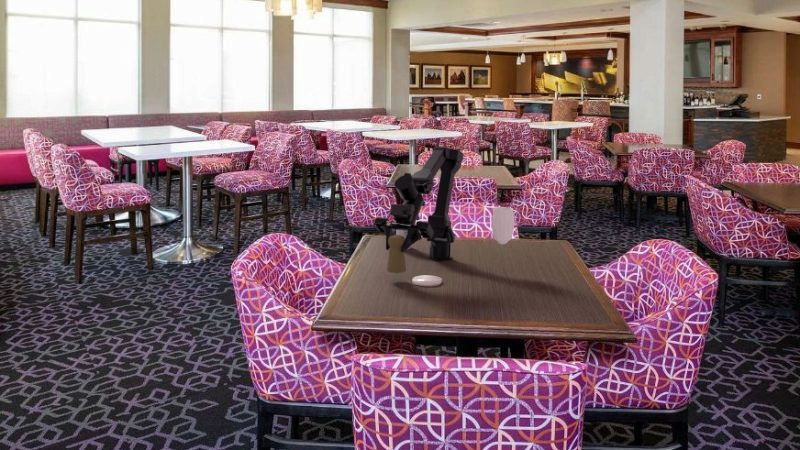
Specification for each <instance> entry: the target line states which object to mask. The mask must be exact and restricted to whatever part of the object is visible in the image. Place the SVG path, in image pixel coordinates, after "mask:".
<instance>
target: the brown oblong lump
mask: <svg viewBox="0 0 800 450" xmlns="http://www.w3.org/2000/svg"><path fill="white" fill-rule="evenodd" d="M404 241H405V238H404V237H403V236H401V235H396V234H395V235H392V236H390V237H389V239H388V244H389V246H390V248H389V250H388V251H389V252H388V259H387V267H386V271H387V273H392V274H401V273H405V272H407V265H406V264H407V263H406V257H405V251H404V252H402V251H401V249H402V246H403V243H404Z"/></svg>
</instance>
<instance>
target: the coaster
mask: <svg viewBox="0 0 800 450" xmlns="http://www.w3.org/2000/svg"><path fill="white" fill-rule="evenodd" d="M442 280H443V278H441V277H439V276H436V275H425V274H423V275H418V276H417V275H416V276H413V277H412V282H411V283H412V284H413V285H415V286H419V287H437V286H439V285H440V286H441V284H442V283H443V281H442Z"/></svg>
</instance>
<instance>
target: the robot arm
mask: <svg viewBox="0 0 800 450" xmlns="http://www.w3.org/2000/svg"><path fill="white" fill-rule="evenodd" d="M463 160H464V153H463V152H462V151H461V149H459V148H450V147H447V146H440V145H439V146H438V145H437V146H434V147H433V148H432V152H431V154H430V155H429V157H428V159H427V160H426V161H425V163H424V165H423V166H422V168H421V169H420V170H418V171H416V172H414V173H413V174H412V173H411V172H404V174H403V175H401V176H400V177H398V178H397V179H396V180H395V181H394V187H395V189H396V191H397V192H398V194H399V196H400V198H401V199H402V200H404V201H403V203H402V204H393V203H392V204H390V209H389V215H390V216H392V217H393V218H392V219H393V221H395V222H393V221H390V220H389V218H388V217H381V216H377V217H376V218H375V219H374V221H373V225H374V227H375V229H376V230H377V232H378V233H380V234H383V235H385V249H386V251H389V250H390V246H389V244H388V239H389V237H390V236H392V235H396V234H395V231H396V230H403V231H407V236H406V238H405V241H404V243H403V246H402V249H401V251H402V252H404V253H405V252H406V249H408V248H409V247H410V246H411V245H412V246H413V245H414V244H415V243H417V242H418V241H421V240H422V239H426V241H427V242H430V245H429V255H428V256H427V257H428V258H429V259H432V260H434V261H437V262H438V261H439V262H440V261H448V260H453V259H454V258H453V257H452V256H451V244H452V243H453V244H454V242H455V240H456V234H455V233H454V231H453V228H452V221H451V219H450V217H449V211H450V204H451V199H452V193H453V187H454V180H455V176H456V174H457V173H458V171H459V170H460V169H461V167H462V163H463ZM439 171H440V176H439V183H438V189H437V195H436V201H435V205H434V206H435V207H434V212H433V213H432V214H429V215H428V217H427V221H422V220H419V219H420V216H419V214H420V211H421V209H422V207H426V201H425V198H424V195H429V194H430V193H431V192H432V191H433V189H434V186H435V183H434V179H435V176H436V175H437V174H438V172H439ZM408 250H409V249H408Z"/></svg>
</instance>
